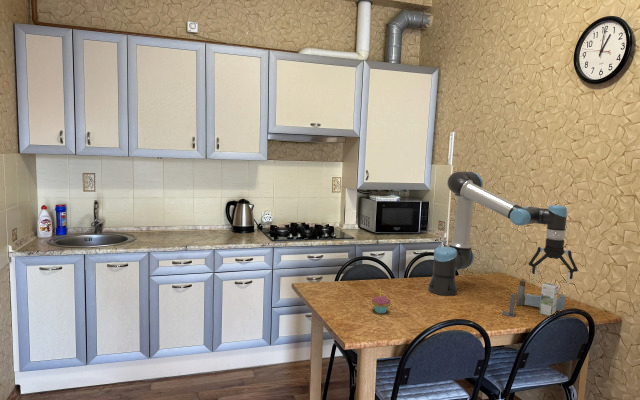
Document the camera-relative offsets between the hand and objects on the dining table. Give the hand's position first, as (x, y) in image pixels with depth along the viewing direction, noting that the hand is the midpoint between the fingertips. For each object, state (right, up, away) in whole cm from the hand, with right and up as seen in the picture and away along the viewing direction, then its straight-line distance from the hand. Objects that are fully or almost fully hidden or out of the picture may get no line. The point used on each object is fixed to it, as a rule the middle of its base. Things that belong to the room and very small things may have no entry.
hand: (551, 283), depth 201 cm
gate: (-1, -14, +9) cm, 17 cm away
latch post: (-21, -14, -1) cm, 25 cm away
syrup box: (-1, -15, +2) cm, 15 cm away
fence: (-4, -13, +21) cm, 25 cm away
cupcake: (-81, -12, -5) cm, 82 cm away
